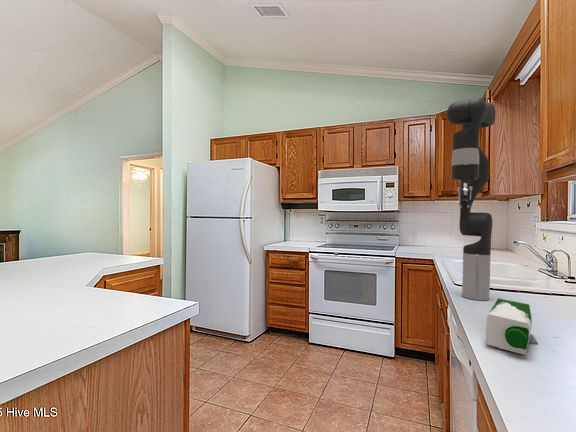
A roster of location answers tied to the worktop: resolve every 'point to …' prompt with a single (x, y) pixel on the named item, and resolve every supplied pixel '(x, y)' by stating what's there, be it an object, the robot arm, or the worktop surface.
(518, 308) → the soya milk
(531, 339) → the rubber pad
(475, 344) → the worktop surface
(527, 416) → the worktop surface
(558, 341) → the worktop surface
